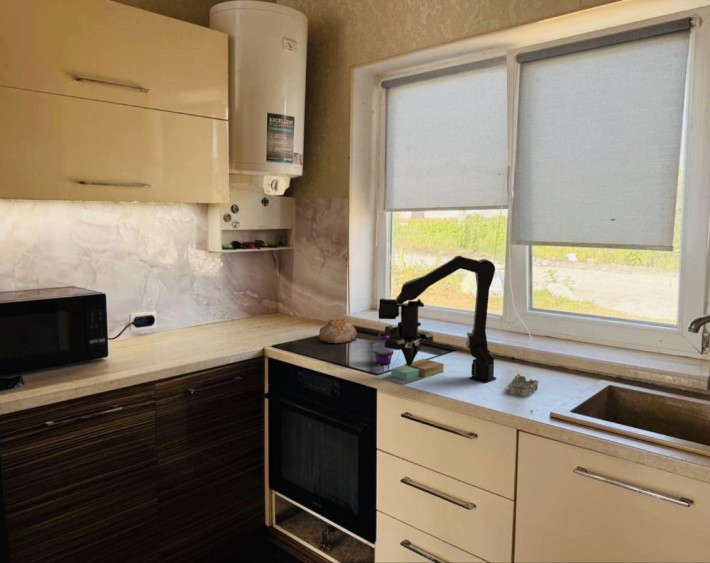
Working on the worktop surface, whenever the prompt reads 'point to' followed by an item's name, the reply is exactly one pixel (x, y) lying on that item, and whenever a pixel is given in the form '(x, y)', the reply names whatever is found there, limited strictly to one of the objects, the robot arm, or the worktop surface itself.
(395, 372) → the tile
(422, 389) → the worktop surface
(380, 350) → the potion bottle
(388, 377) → the mat
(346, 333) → the bread
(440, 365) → the block
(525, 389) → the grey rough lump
